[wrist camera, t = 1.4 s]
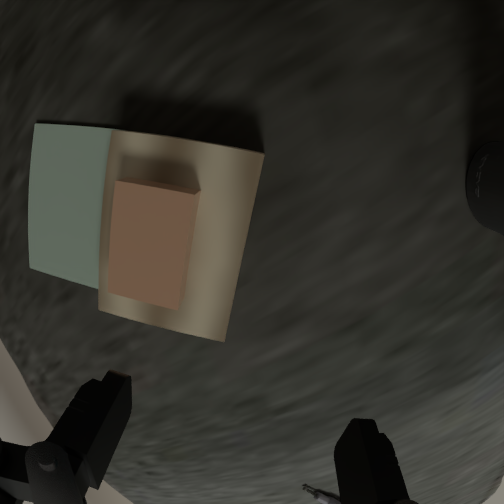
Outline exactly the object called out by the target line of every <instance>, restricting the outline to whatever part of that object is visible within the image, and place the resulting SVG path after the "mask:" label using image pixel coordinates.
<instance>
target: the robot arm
mask: <svg viewBox="0 0 504 504" xmlns="http://www.w3.org/2000/svg"><path fill="white" fill-rule="evenodd" d="M466 192H467V199H468V203H469V206H470V209H471V211H472V213H473V215H474V217H475V218H476V219H477V220H478V222H479V223H481V224H482V225H483V226H485V227H487V228H489V229H491V230H493V231H495V232H497V233H499V234H501V235H503V236H504V142H490V143H487V144H485V145H484V146H482V147H481V148H480V149H479V150H478V151H477V152H476V154H475V155H474V157H473V159H472V161H471V163H470V166H469V169H468V174H467V180H466ZM131 409H132V386H131V376H129V375H126V374H123V373H120V372H117V371H114V370H109V371H108V372H107V373H106V375H105V376H104V378H103V380H102V381H98V380H96V379H91V380H90V381H88V382H87V383H85V384H84V385H82V386H81V387H80V389H79V390H78V392H77V393H76V395H75V396H74V399H72V401H71V402H70V404H69V407H67V408H66V410H65V412H64V413H63V415H62V416H61V418H60V419H59V421H58V422H57V424H56V426H55V427H54V429H53V431H52V432H51V434H50V435H49V437H48V438H47V439H46V440H45V441H43V442H37V443H35V444H33V445H32V446H22V445H18V444H13V443H9V442H5V441H2V440H1V438H0V504H22V503H23V501H24V500H25V501H29V502H33V503H34V504H87V502H86V499H85V494H86V492H87V490H88V488H89V486H90V487H92V488H95V489H97V490H98V489H99V487H100V484H101V482H102V480H103V477H104V475H105V473H106V470H107V468H108V466H109V463H110V461H111V459H112V456H113V454H114V452H115V449H116V447H117V445H118V443H119V440H120V438H121V436H122V434H123V431H124V429H125V427H126V425H127V422H128V420H129V417H130V414H131ZM395 455H396V454H395V451H394V448H393V445H392V443H391V441H390V440H389V439H388V438H387V436H386V435H385V434H384V433H379V431H378V428H377V425H376V422H375V421H374V420H373V419H359V418H354V419H352V420H351V421H350V423H349V424H348V426H347V428H346V429H345V431H344V432H343V434H342V436H341V437H340V439H339V440H338V442H337V443H336V446H335V450H334V461H335V467H336V474H337V480H338V487H339V493H340V500H341V504H419V503H417V502H415V501H413V500H410V498H409V496H408V492H407V489H406V486H405V483H404V479H403V476H402V473H401V470H400V466H398V460H397V457H395Z"/></svg>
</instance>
